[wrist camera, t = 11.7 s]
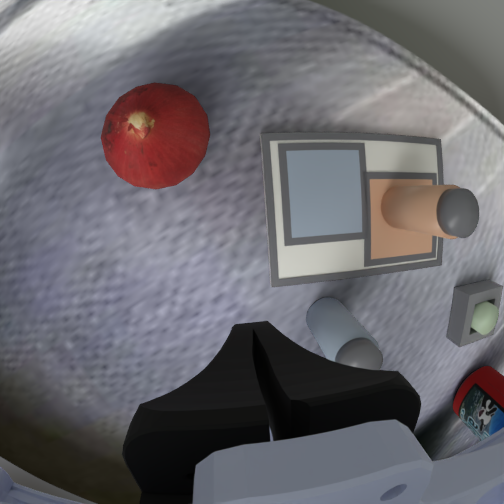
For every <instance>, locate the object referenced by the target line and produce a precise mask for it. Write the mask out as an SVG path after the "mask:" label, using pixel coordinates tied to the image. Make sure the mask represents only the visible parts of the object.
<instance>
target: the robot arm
mask: <svg viewBox="0 0 504 504" xmlns="http://www.w3.org/2000/svg"><path fill="white" fill-rule="evenodd" d="M420 408H421V401H420V396H419V395H418V393H417V392H416V391H415V389H414V388H413V387H412V386H411V384H410V383H409V382H408V381H407V380H406V379H405V378H404V377H403V376H402V375H401V374H400V373H399V372H398V371H383V370H370V369H364V368H358V367H353V366H348V365H344V364H341V363H338V362H334V361H331V360H328V359H326V358H323V357H321V356H319V355H316V354H314V353H312V352H310V351H308V350H306V349H304V348H303V347H301V346H299V345H298V344H296V343H295V342H293V341H292V340H290V339H289V338H287V337H286V336H285V335H283V334H282V333H281V332H280V331H279V330H277V329H276V328H275V327H274V326H273V325H272V324H270V323H269V322H268V321H263V322H253V323H244V324H235V325H234V326H233V327H232V330H231V332H230V334H229V336H228V338H227V340H226V342H225V343H224V345H223V346H222V348H221V349H220V351H219V352H218V353H217V355H216V356H215V357H214V359H213V360H212V361H211V362H210V363H209V364H208V366H207V367H206V368H205V369H204V370H203V371H201V372H200V373H199V374H198V375H196V376H195V377H194V378H192V379H191V380H190V381H188V382H187V383H185V384H184V385H182V386H180V387H179V388H177V389H175V390H173V391H171V392H169V393H167V394H165V395H163V396H161V397H158V398H156V399H153V400H151V401H148V402H145V403H142V404H140V405H139V407H138V409H137V411H136V413H135V415H134V417H133V419H132V421H131V423H130V426H129V429H128V432H127V435H126V438H125V441H124V445H123V453H122V455H123V458H124V461H125V463H126V465H127V467H128V469H129V471H130V472H131V474H132V476H133V478H134V479H135V481H136V483H137V484H138V486H139V488H140V489H141V491H142V494H141V499H140V504H504V428H502V429H500V430H499V431H497V432H496V433H494V434H492V435H491V436H489V437H488V438H486V439H484V440H482V441H481V442H479V443H477V444H475V445H474V446H472V447H470V448H468V449H466V450H465V451H463V452H461V453H459V454H457V455H455V456H453V457H451V458H447V459H442V460H438V461H433V462H432V461H431V459H430V458H429V456H428V455H427V454H426V452H425V451H424V449H423V448H422V446H421V445H420V444H419V442H418V441H417V439H416V438H415V436H414V435H413V432H414V429H415V426H416V423H417V420H418V417H419V414H420ZM0 504H85V503H80V502H76V501H72V500H67V499H64V498H60V497H56V496H53V495H50V494H46V493H43V492H40V491H37V490H33V489H31V488H27V487H25V486H22V485H19V484H16V483H14V482H13V481H12V479H11V477H10V476H9V475H8V474H7V472H6V471H5V470H4V469H3V468H1V467H0Z"/></svg>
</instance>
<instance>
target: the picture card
mask: <svg viewBox="0 0 504 504" xmlns="http://www.w3.org/2000/svg"><path fill="white" fill-rule="evenodd" d="M260 143H261V156H262V169H263V182H264V196H265V210H266V225H267V239H268V255H269V270H270V284H271V287H280V286H289V285H298V284H307V283H316V282H324V281H332V280H340V279H348V278H356V277H364V276H371V275H379V274H386V273H393V272H400V271H407V270H414V269H421V268H427V267H434V266H440V265H442V251H443V238H442V237H438V236H433V235H428V234H423V233H418V232H413V231H408V230H403V229H398V228H394V227H391V226H390V225H389V224H388V223H387V222H386V221H385V220H384V218H383V215H382V211H381V203H382V199H383V196H384V194H385V193H386V192H387V191H388V190H389V189H390V188H392V187H395V186H418V185H444V183H443V162H442V148H441V139H435V138H426V137H416V136H404V135H391V134H374V133H348V132H289V133H262V134H260Z"/></svg>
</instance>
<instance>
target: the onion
mask: <svg viewBox="0 0 504 504" xmlns="http://www.w3.org/2000/svg"><path fill="white" fill-rule="evenodd" d="M209 137H210V131H209V124H208V117H207V114H206V113H205V111H204V110H203V108H202V107H201V105H200V103H199V102H198V100H197V99H196V97H195V96H194V95H192V94H190V93H189V92H187V91H185V90H184V89H182V88H180V87H178V86H176V85H170V84H162V83H151V84H146V85H142V86H138V87H135V88H134V89H132V90H130V91H129V92H127V93H126V94H124V95H122V96H121V97H119V98H118V100H117V101H116V103H115V104H114V105H113V107H112V108H111V110H110V111H109V112H108V114H107V115H106V119H105V123H104V126H103V130H102V134H101V140H102V145H103V149H104V153H105V157H106V161H107V162H108V163H109V165H110V166H111V167H112V169H113V170H114V171H115V173H116V174H117V175H118V177H120V178H122V179H123V180H125V181H127V182H128V183H130V184H132V185H133V186H137V187H144V188H151V189H160V188H165V187H170V186H174V185H177V184H178V183H180V182H181V181H183V180H184V179H186V178H187V177H188V176H190V175H191V174H193V173H194V171H195V170H196V168H197V167H198V165H199V164H200V162H201V161H202V160H203V158H204V157H205V154H206V150H207V146H208V141H209Z"/></svg>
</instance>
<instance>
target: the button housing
mask: <svg viewBox="0 0 504 504" xmlns="http://www.w3.org/2000/svg"><path fill="white" fill-rule="evenodd" d="M502 289H503V286H501V285H499V284H497V283H495V282H493V281H490V280H484V281H480V282H476V283H472V284H467V285H463V286H458V287H454V294H453V301H452V308H451V314H450V320H449V326H448V331H447V336H446V337H447V338H448V339H449V340H451V341H452V342H453V343H455V344H456V345H457V346H458V347H462V346H465V345H467V344H470V343H473V342H475V341H478V340H481V339H483V338H486V337H488V336H491V335H493V333H494V329H495V326H494V328H493V329H492V330H491V331H490V332H489V333H488V334H486V335H482V334H480V333H479V332H477V331H476V330H474V329H473V328H471V324H472V319H473V314H474V308H475V304H478V303H481V302H485V301H487V302H489V303H491V304H493V305H495V306H496V307H497V308H498V311H499V306H500V301H501V295H502ZM495 325H496V324H495Z"/></svg>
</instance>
